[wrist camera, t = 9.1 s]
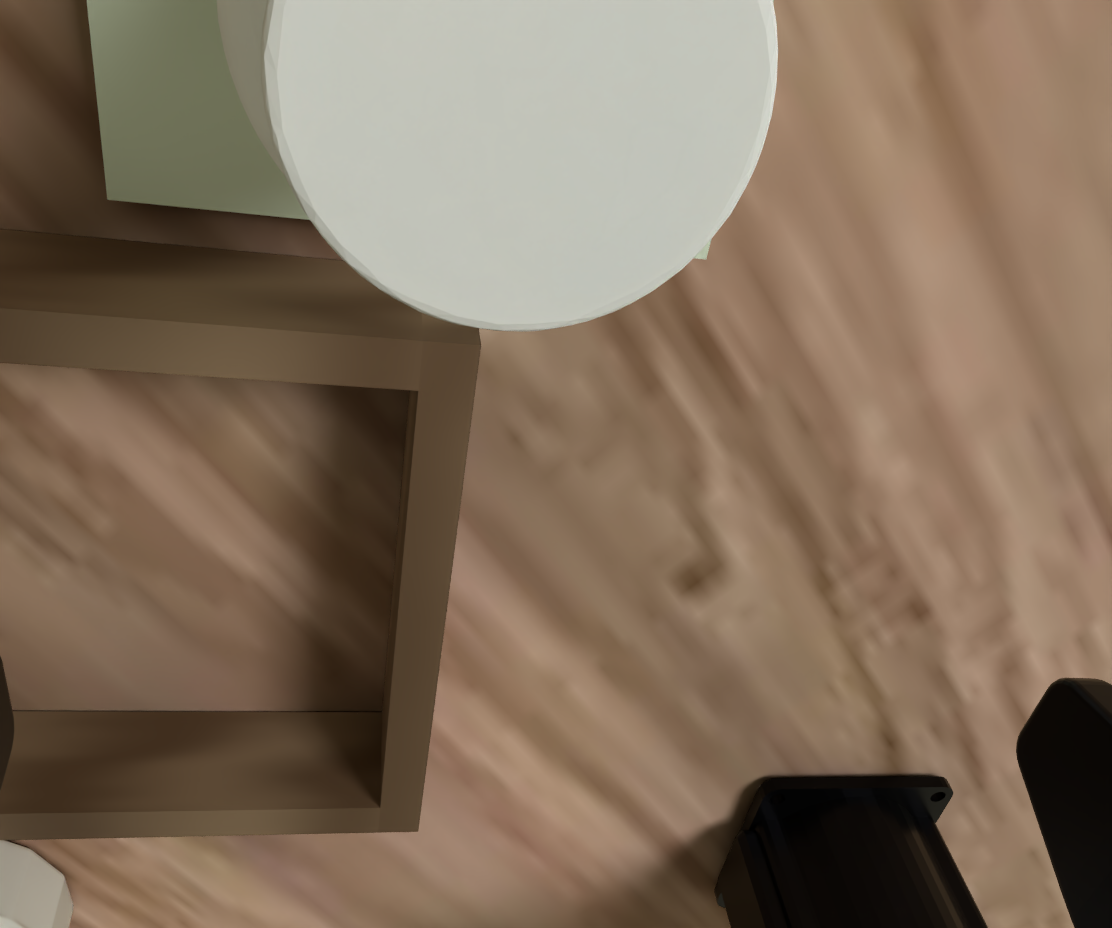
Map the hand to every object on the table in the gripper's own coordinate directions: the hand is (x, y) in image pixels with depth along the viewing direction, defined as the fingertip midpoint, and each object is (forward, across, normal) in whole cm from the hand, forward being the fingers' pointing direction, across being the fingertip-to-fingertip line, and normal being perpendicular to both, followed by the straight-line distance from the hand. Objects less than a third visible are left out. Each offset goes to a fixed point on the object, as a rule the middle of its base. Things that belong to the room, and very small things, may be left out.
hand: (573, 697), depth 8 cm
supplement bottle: (+12, +1, -4) cm, 13 cm away
